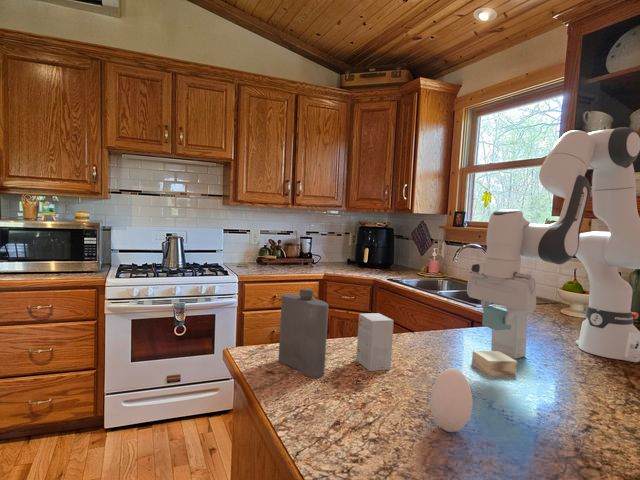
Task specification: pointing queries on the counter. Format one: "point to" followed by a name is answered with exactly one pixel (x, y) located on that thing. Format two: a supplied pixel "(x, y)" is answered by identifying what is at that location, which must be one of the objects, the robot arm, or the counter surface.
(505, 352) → the skincare box
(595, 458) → the counter surface
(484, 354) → the maple block
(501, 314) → the teal cube
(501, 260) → the robot arm
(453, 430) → the egg
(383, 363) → the small box
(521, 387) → the counter surface
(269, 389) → the counter surface
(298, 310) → the flask
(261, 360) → the counter surface
